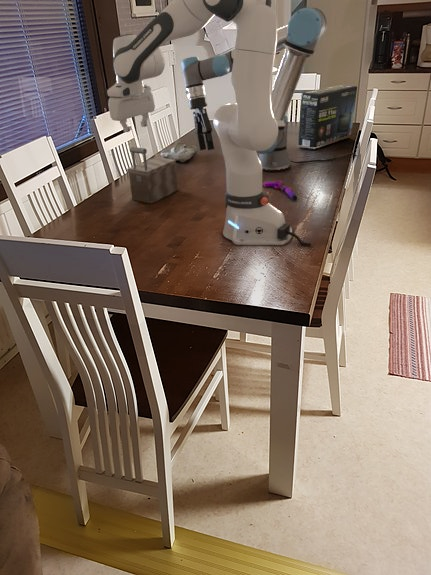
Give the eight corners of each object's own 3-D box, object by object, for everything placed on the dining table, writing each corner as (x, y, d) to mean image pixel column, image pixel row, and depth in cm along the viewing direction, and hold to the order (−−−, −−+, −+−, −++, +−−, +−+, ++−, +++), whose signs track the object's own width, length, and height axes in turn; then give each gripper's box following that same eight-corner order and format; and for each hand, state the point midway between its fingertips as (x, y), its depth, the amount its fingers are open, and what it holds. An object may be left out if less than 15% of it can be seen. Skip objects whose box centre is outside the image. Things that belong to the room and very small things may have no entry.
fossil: (184, 156, 217) (163, 136, 220) (174, 174, 223) (154, 154, 227) (205, 153, 231) (186, 134, 234) (195, 171, 237) (176, 152, 240)
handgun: (263, 185, 189) (263, 181, 188) (281, 183, 190) (281, 179, 189) (278, 202, 172) (278, 197, 171) (298, 200, 173) (298, 195, 172)
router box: (314, 151, 231) (318, 94, 217) (296, 148, 237) (299, 92, 224) (352, 138, 251) (358, 85, 238) (335, 135, 258) (340, 83, 245)
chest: (151, 203, 176) (147, 175, 170) (132, 199, 181) (128, 171, 175) (178, 190, 188) (175, 163, 183) (159, 186, 193) (156, 160, 187)
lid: (146, 175, 170) (144, 150, 165) (127, 172, 174) (124, 147, 170) (175, 163, 182) (173, 139, 178) (156, 160, 187) (154, 137, 182)
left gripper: (143, 83, 167) (147, 122, 174) (103, 91, 153) (109, 134, 160) (156, 84, 164) (160, 124, 171) (117, 92, 150) (123, 136, 157)
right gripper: (182, 102, 204) (192, 151, 211) (195, 96, 181) (205, 151, 188) (198, 99, 205) (207, 148, 212) (213, 92, 182) (223, 147, 189)
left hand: (135, 129), depth 166 cm, fingers open, 8 cm apart
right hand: (207, 149), depth 200 cm, fingers open, 13 cm apart
